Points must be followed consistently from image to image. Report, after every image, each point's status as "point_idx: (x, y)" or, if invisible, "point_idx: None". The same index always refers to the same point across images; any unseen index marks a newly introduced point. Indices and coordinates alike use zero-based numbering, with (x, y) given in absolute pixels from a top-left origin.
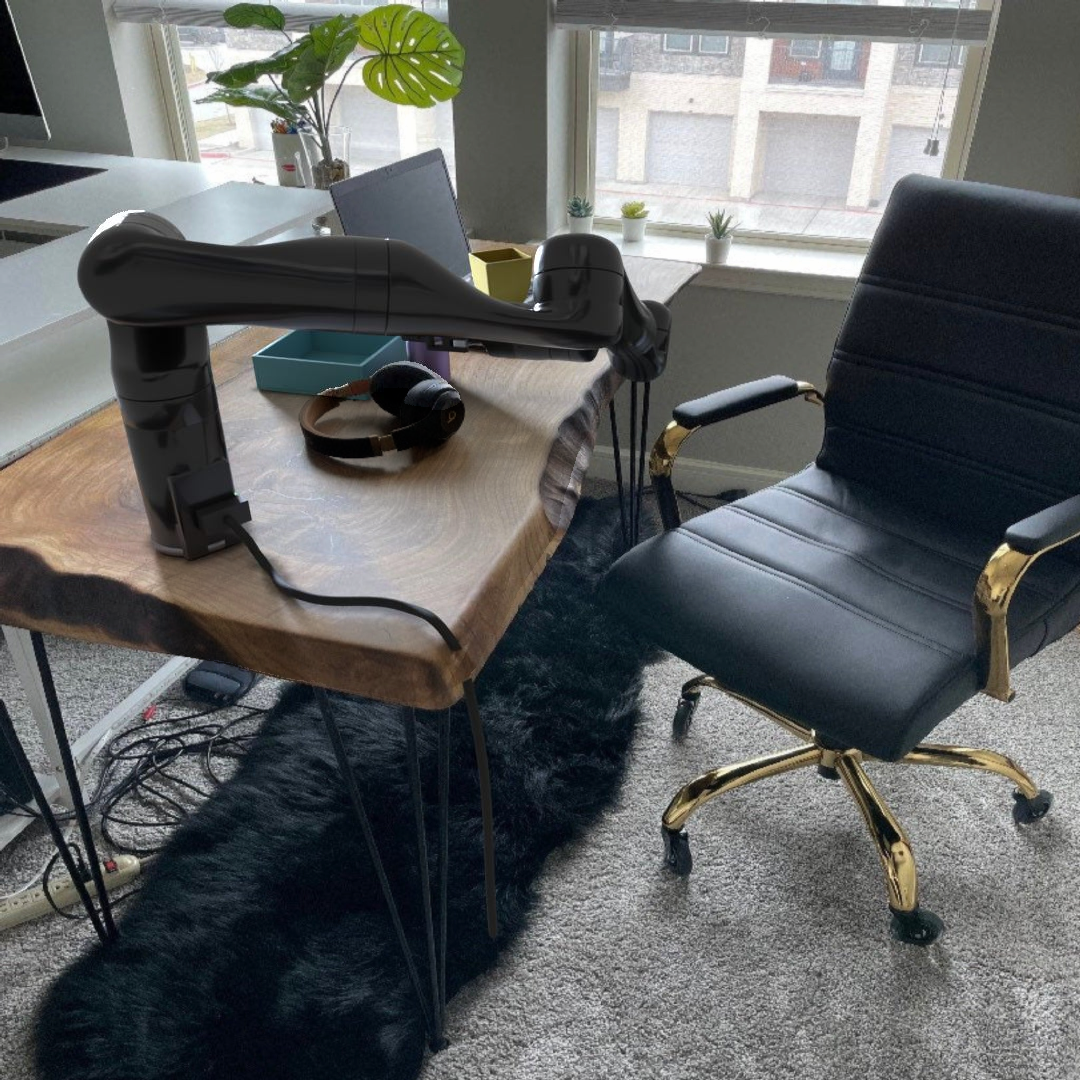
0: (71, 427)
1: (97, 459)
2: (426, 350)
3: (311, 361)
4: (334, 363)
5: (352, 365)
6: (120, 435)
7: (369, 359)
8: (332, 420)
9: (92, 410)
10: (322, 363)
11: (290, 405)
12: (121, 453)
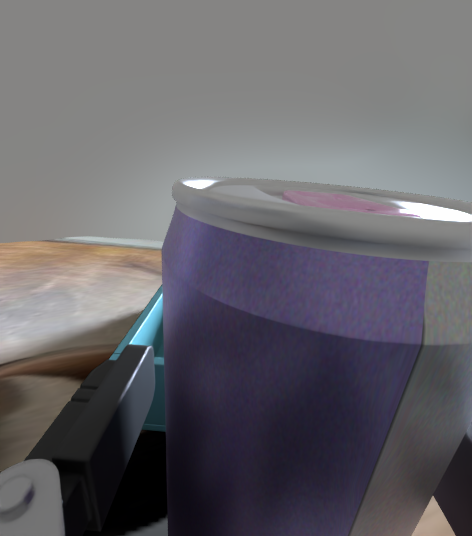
0: (101, 245)
1: (15, 259)
2: (168, 531)
3: (155, 295)
4: (139, 318)
5: (120, 343)
6: (70, 259)
7: (159, 362)
8: (13, 398)
9: (135, 246)
10: (146, 306)
11: (117, 331)
12: (21, 265)
